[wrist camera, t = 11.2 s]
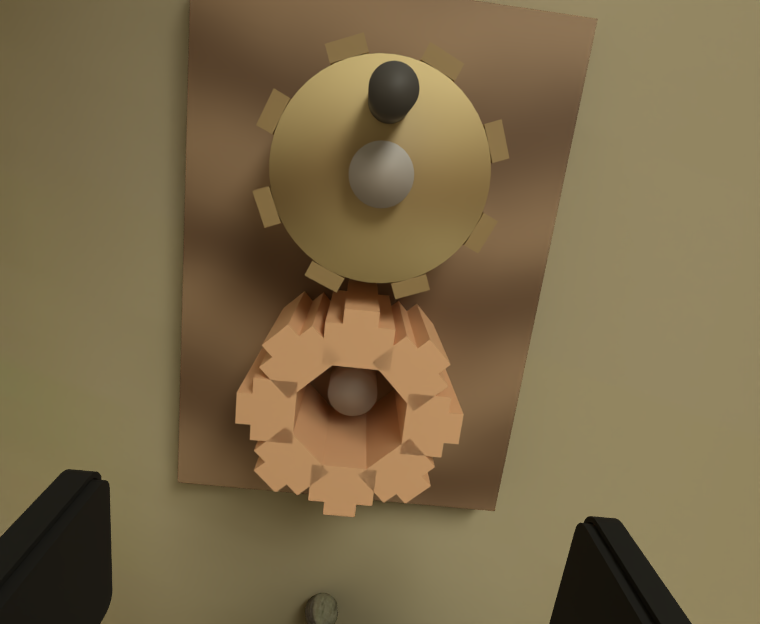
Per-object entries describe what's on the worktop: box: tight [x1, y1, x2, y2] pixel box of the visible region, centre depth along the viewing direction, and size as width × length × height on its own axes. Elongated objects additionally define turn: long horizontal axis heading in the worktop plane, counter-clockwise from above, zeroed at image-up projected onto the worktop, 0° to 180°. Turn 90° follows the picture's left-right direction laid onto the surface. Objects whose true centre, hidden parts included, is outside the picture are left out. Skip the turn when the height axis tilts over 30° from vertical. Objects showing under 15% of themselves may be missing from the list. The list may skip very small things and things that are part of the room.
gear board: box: [178, 0, 598, 511], centre depth 18 cm, size 20×14×8 cm
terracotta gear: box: [235, 279, 464, 517], centre depth 19 cm, size 7×7×4 cm
